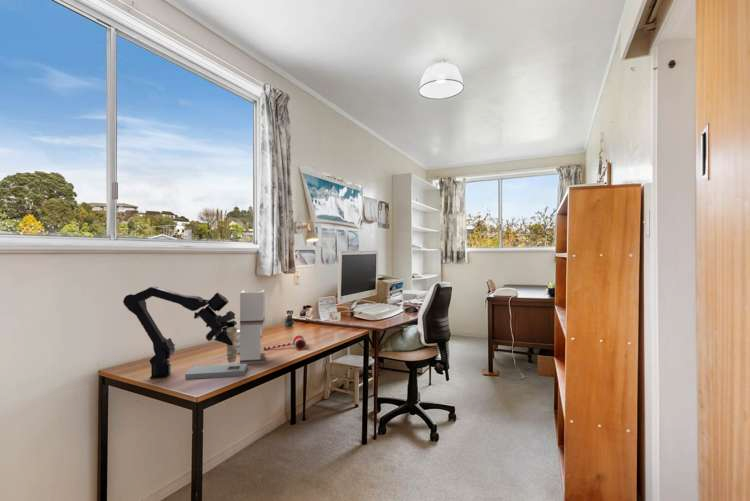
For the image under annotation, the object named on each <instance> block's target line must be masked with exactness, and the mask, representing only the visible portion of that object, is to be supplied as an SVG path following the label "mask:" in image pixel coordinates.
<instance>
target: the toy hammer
mask: <svg viewBox="0 0 750 501" xmlns="http://www.w3.org/2000/svg"><path fill="white" fill-rule="evenodd" d="M289 346H294V348H295V349H296V350H297V351H302V350H305V348H306V347H307V341H306V340H305V338H304V337H303V335H301V334H296V335H295V336H293V338H292V342H288V343H287V342H286V343H282V344H276V345H271V346H263V351H267V350H272V349H278V348H283V347H289Z"/></svg>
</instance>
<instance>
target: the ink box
mask: <svg viewBox="0 0 750 501" xmlns="http://www.w3.org/2000/svg"><path fill="white" fill-rule="evenodd" d="M237 340H238V342H237V355H238V354H240V329H237Z"/></svg>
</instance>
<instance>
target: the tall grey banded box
mask: <svg viewBox="0 0 750 501" xmlns="http://www.w3.org/2000/svg"><path fill="white" fill-rule="evenodd" d="M265 292H266V291H265V289H262V290H260V291H246V289H244V290H242V291H240V292H239V330H240V353H239V364H247V365H256V364H263V363H264V360H265V356H266V355H265V352H261V344H262V343H261V339H262V338H263V327H264V326H265V324H266V322H265V321H266V320H265V313H266V311H265V308H266V307H265V304H266V303H265V300H266V297H265V295H266V294H265Z"/></svg>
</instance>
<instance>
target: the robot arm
mask: <svg viewBox="0 0 750 501" xmlns="http://www.w3.org/2000/svg"><path fill="white" fill-rule="evenodd" d="M152 297H153V298H158V299H161V300H164V301H167V302H170V303H176V304H178V305H180V306H182V308H185V309H187V310H189V311H192V312H194V316H193V319H199V318H200V319H201V320H202V321H203V322H204V323H205V327H206V328H209V329H210V330H209V332H208V333H207V334H206V335H205V339H206V340H207V341H208V342H211V341H213V340H214V341H216V342H220V343H223V344H226V345H227V344H228V345H231V346H232V345H233V343H232V341H231V340H230V338H229V337H228V336H227V328H230V327H236V325H237V324H238V323H237V321H236V320H235V319H236V317H235V315H236V313H235V312H234V311H232V310H229V311H227V312H226V314H224V315H221V314H219V315H218V314H217V313H216V312H220V311H221V310H222V309H223V308H225V307H226V305H228V303H229V300H228V299H227V298H226V297H225V296H224V295H222V294H220V293H219V292H216V293H214V295H213V296H211V298H210V299H205V298H204V299H203V297H201V296H197V295H185V294H180V293H178V292H174V291H170V290H167V289H163V288H160V287H158V286H156V285H153V286H150V287H148V288H146V289H144V290H141V291H139V292H134V293H131V294H127V295H125V296H124V298H123V300H122V303H123V305H124V306H125V307H126V309H127V310H128V311H129V312H130V313H132V314H134V315H135V316H136V318H137V319H138V322H139V323H140V324H141V326H142V327H143V329H144V331H145V333H146V334H147V336H148V337H149V339H150V340H151V342H152V348H153V351H154V352H153V353H154V356H152V357H151V358H150V359H149V363H150V365H151V366H150V367H151V369H150V372H151V373H150V374H151V376H149V378H150V379H159V378H161V379H163V378H167V377H168V376H169V375H170V374H171V373H172V372H171V371H172V370H171V369H172V367H171V366H172V365H171V363H170V358H171V356H172V355H174V353H175V350H176V348H175V346H176V344H175V343H174V342H173V340H172V338H171V337H169V338H168V339H167V338H165V336H164V335H163V333H162V331H161V330H160V329H159V328H158V326H157V324H156V322H155V320H154V318H153V317H152V316H151V314H150V313H149V310H148V308H147V300H148V299H150V298H152ZM197 310H199V311H197ZM196 311H197V312H196ZM237 342H238V340H237Z"/></svg>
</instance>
